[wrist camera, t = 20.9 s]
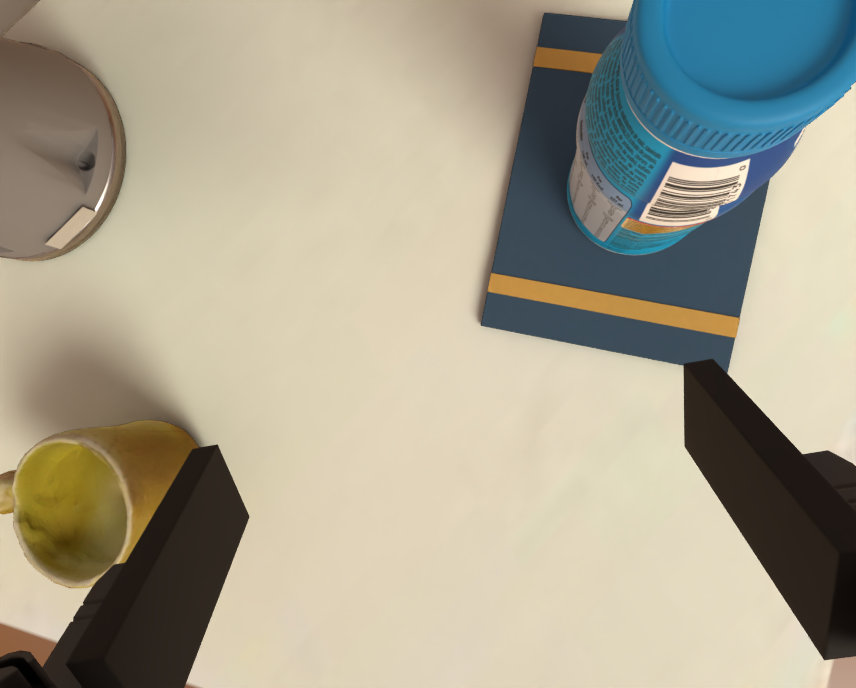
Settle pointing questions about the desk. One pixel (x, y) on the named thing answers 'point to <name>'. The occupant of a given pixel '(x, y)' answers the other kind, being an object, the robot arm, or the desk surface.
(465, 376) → the desk surface
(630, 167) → the beverage bottle
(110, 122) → the robot arm
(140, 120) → the desk surface
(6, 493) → the mug
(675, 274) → the tea towel
